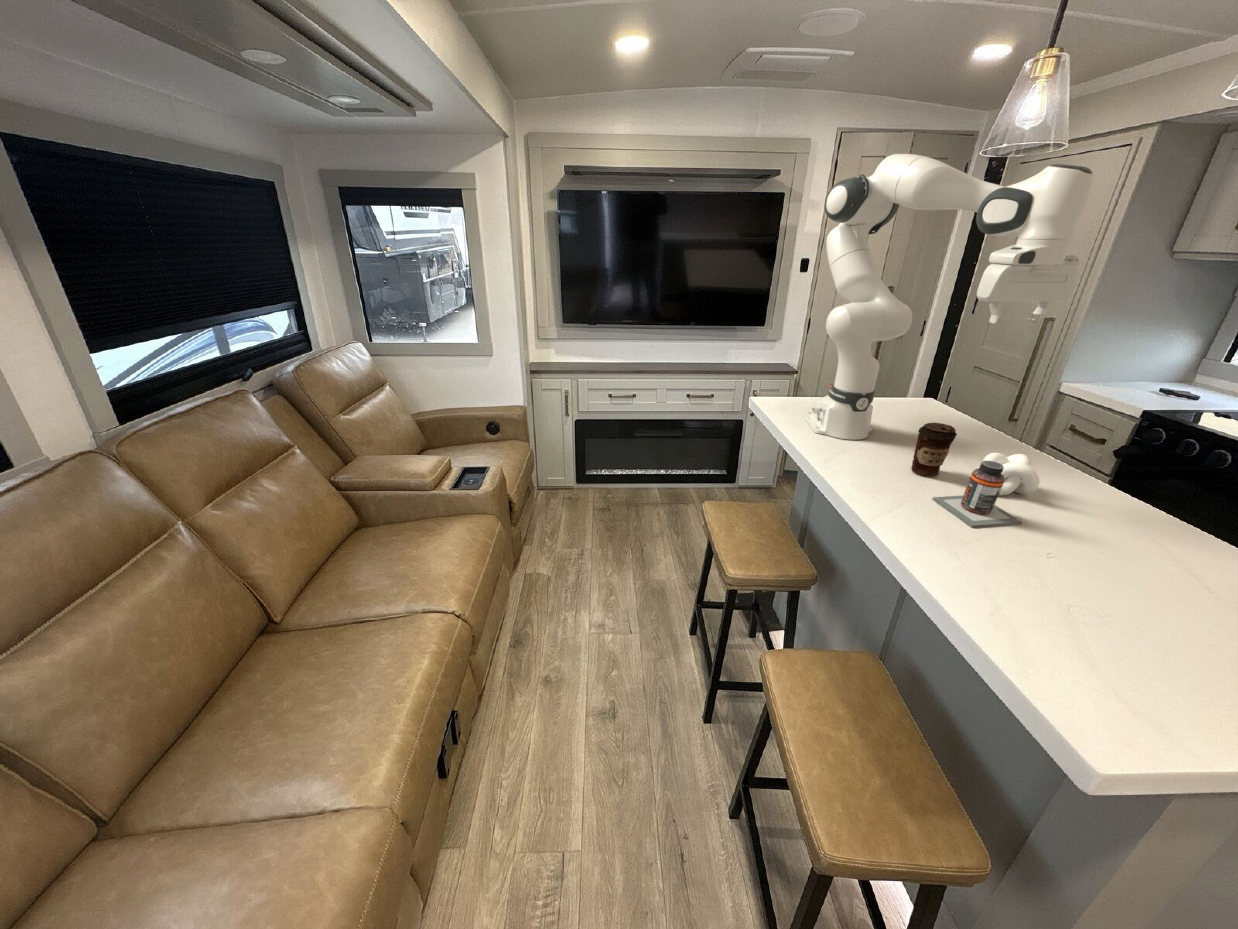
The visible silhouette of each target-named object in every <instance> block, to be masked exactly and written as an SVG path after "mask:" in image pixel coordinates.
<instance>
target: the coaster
mask: <svg viewBox="0 0 1238 929" xmlns="http://www.w3.org/2000/svg"><path fill="white" fill-rule="evenodd" d="M963 495H964V494H963ZM963 495H949V496H936V497H935V496H934V497H932V499H931V500H932V501H934V502H935V503H936V504H938V505H939V506H941V507H942V508H943V509H945V510H946V511H948V512H949V513H950V514H952V515H953V516H955V517H956V518H958V519H959V520H960V521H961V522H963V523H964V524H966V525H967V526H968V527H970V528H971V529H973V528H974V529H975V528H987V527H988V528H989V527H1001V526H1012V525H1013V526H1014V525H1022V523H1023V521H1022V520H1020V519H1018V518H1017V517H1015V516H1013V515H1012V514H1010V513H1009V512H1008V511H1005V510H1004V509H1003V508H1001V507H999V506H997V505H996V504H995V505H994V507H993V509H992V511H991V513H989V514H985V515H983V514H976V513H973V512H970V511H968V510H966V509H965V508H963V507H962V505H961V500H962V498H963Z"/></svg>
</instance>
